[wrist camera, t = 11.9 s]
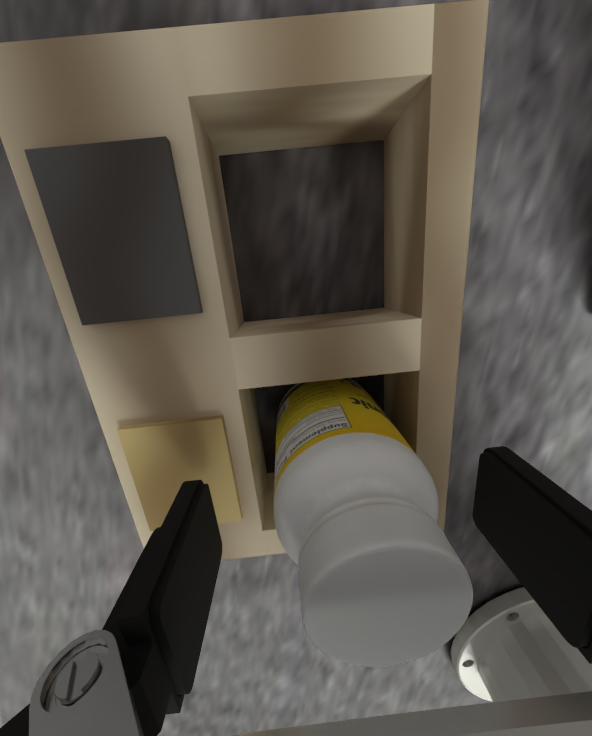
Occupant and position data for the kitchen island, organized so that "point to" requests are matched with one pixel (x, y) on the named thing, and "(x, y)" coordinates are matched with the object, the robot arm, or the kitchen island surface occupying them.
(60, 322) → the kitchen island surface
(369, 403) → the supplement bottle
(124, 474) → the socket block
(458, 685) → the kitchen island surface
